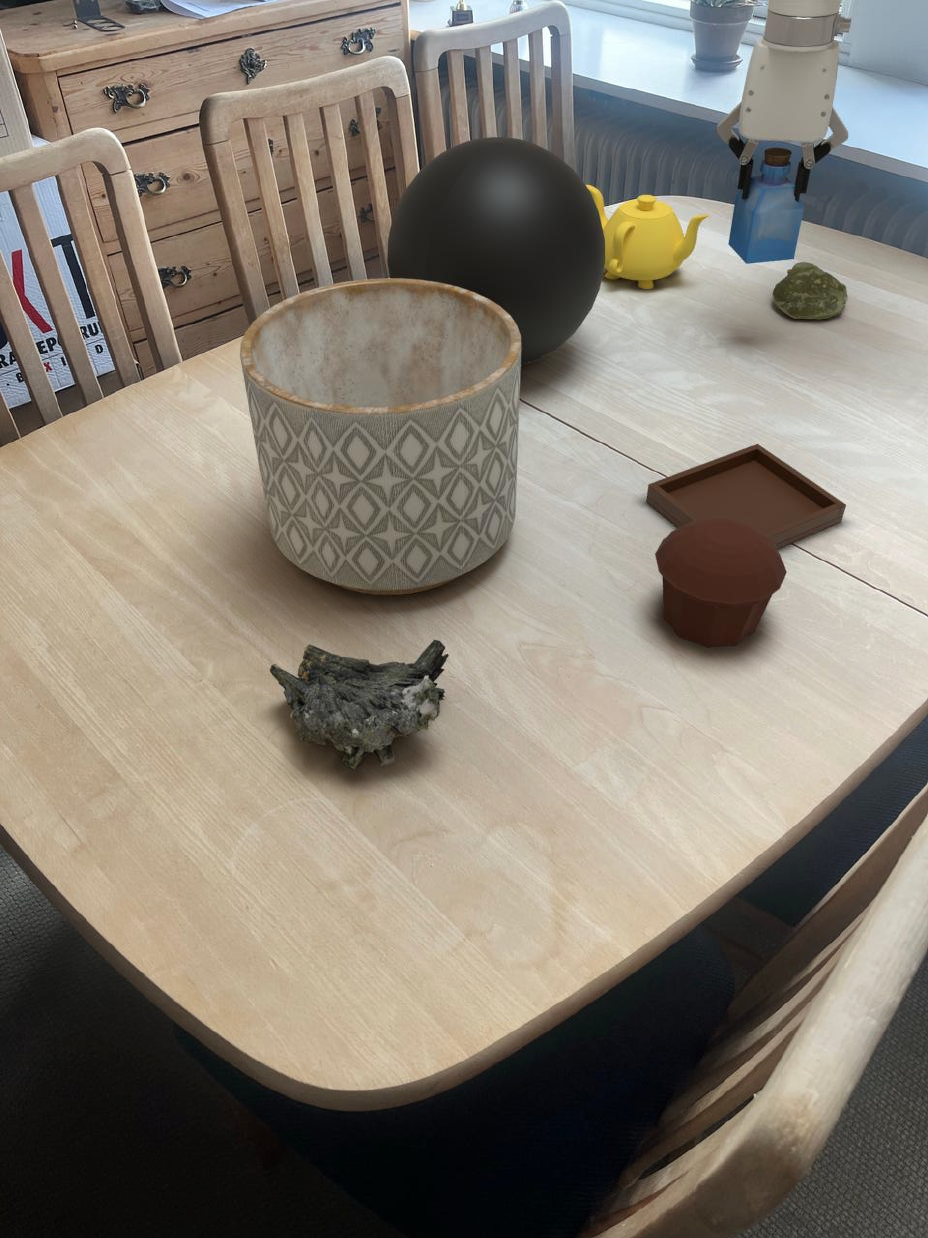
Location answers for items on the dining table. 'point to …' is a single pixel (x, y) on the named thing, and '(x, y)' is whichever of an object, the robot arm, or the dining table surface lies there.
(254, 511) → the dining table surface
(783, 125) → the robot arm
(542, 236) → the ball
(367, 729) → the mineral specimen
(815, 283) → the olive green rounded lump
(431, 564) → the planter
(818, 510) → the tray
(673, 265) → the teapot
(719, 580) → the muffin
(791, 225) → the perfume bottle
